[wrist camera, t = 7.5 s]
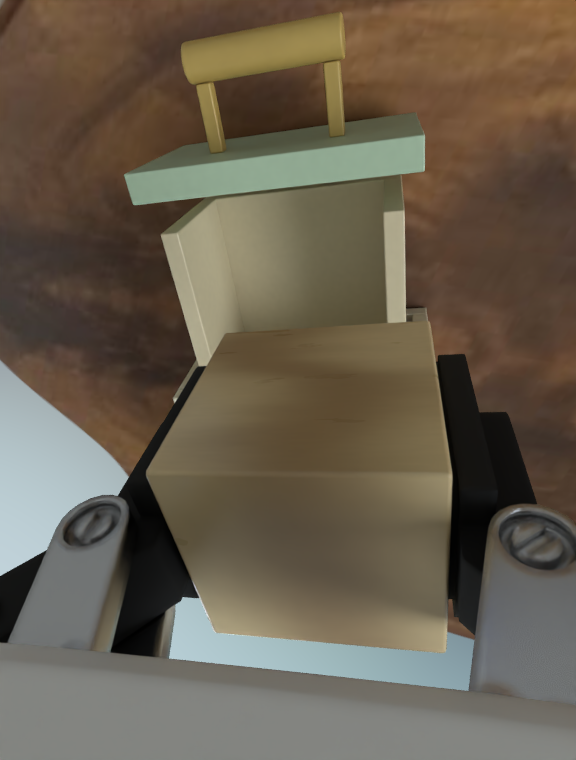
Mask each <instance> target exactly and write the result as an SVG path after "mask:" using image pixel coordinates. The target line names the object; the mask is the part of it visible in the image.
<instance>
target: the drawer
mask: <svg viewBox="0 0 576 760" xmlns="http://www.w3.org/2000/svg"><path fill="white" fill-rule="evenodd" d="M344 58H345V31H344V21H343V15H342V13H341V12H336V13H331V14H326V15H321V16H316V17H310V18H305V19H300V20H295V21H290V22H285V23H280V24H274V25H269V26H264V27H259V28H254V29H249V30H244V31H238V32H233V33H228V34H223V35H218V36H213V37H208V38H202V39H197V40H192V41H187V42H184V43H183V44H182V46H181V59H182V65H183V69H184V72H185V75H186V77H187V79H188V81H189V82H190V83H191V84H193V85H196V84H197V85H196V89H197V94H198V99H199V103H200V108H201V113H202V117H203V122H204V127H205V131H206V136H207V141H208V142H205V143H198V144H191V145H184V146H182V147H180V148H178V149H176V150H173V151H171V152H169V153H167V154H165V155H163V156H161V157H159V158H157V159H155V160H153V161H151V162H149V163H147V164H144V165H142V166H140V167H138V168H136V169H134V170H132V171H130V172H128V173H126V174H124V177H125V180H126V183H127V187H128V190H129V193H130V196H131V199H132V203H133V205H141V204H149V203H158V202H166V201H175V200H184V199H192V198H201V197H206V198H205V199H203V200H202V201H201V202H200V203H198V204H197V205H196V206H195V207H194V208H192V209H191V210H190V211H189V212H187V213H186V214H185V215H184V216H183V217H181V218H180V219H179V220H178V221H177V222H175V223H174V224H173V225H172V226H170V227H169V228H168V229H167V230H166V231H164V232H163V233H162V234H161V238H162V241H163V245H164V248H165V252H166V255H167V259H168V262H169V265H170V269H171V272H172V276H173V279H174V283H175V286H176V290H177V293H178V297H179V300H180V303H181V307H182V310H183V314H184V317H185V321H186V324H187V328H188V331H189V334H190V338H191V341H192V345H193V348H194V352H195V355H196V359H197V362H198V365H199V366H207V364H208V363H209V361H210V359H211V357H212V356H213V354H214V352H215V350H216V349H217V347H218V345H219V343H220V342H221V340H222V338H223V337H224V335H225V334H226V333H235V332H251V331H267V330H283V329H300V328H316V327H332V326H348V325H364V324H380V323H396V322H406V277H405V210H404V199H403V188H402V177H401V175H400V174H408V173H416V172H423V171H424V170H425V135H424V132H423V130H422V127H421V125H420V122H419V120H418V117H417V115H416V113H408V114H401V115H394V116H387V117H380V118H373V119H366V120H359V121H352V122H345V120H344V106H343V92H342V78H341V64H340V60H341V59H344ZM324 62H325V63H324ZM318 63H323V71H324V82H325V94H326V105H327V116H328V125H324V126H317V127H310V128H303V129H296V130H289V131H282V132H275V133H268V134H261V135H254V136H247V137H240V138H233V139H226V140H225V138H224V133H223V128H222V123H221V118H220V113H219V107H218V102H217V97H216V92H215V87H214V83H213V82H214V81H219V80H225V79H231V78H237V77H243V76H248V75H254V74H260V73H266V72H272V71H278V70H283V69H289V68H295V67H301V66H307V65H312V64H318Z"/></svg>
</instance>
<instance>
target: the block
mask: <svg viewBox="0 0 576 760" xmlns="http://www.w3.org/2000/svg"><path fill="white" fill-rule="evenodd" d="M146 477H147V479H148V481H149V483H150V486H151V488H152V490H153V493H154V495H155V497H156V500H157V502H158V504H159V506H160V509H161V511H162V513H163V516H164V518H165V520H166V522H167V525H168V527H169V529H170V532H171V534H172V536H173V538H174V541H175V543H176V545H177V548H178V550H179V552H180V554H181V557H182V559H183V561H184V564H185V566H186V568H187V571H188V573H189V575H190V577H191V580H192V582H193V584H194V587H195V589H196V591H197V593H198V596H199V598H200V600H201V602H202V605H203V607H204V609H205V612H206V614H207V616H208V619H209V621H210V623H211V625H212V628H213V630H214V631H215V632H216V633H223V634H234V635H245V636H256V637H268V638H280V639H290V640H301V641H312V642H323V643H334V644H345V645H357V646H368V647H379V648H390V649H401V650H412V651H424V652H435V653H445V652H446V649H447V622H448V594H449V566H450V538H451V510H452V483H453V474H452V467H451V461H450V454H449V447H448V440H447V434H446V427H445V420H444V413H443V407H442V400H441V393H440V386H439V380H438V373H437V366H436V359H435V353H434V346H433V339H432V332H431V326H430V322H429V321H413V322H396V323H380V324H364V325H348V326H332V327H316V328H300V329H283V330H267V331H251V332H235V333H226V334H225V335H224V337H223V338H222V340H221V342H220V343H219V345H218V347H217V349H216V350H215V352H214V354H213V356H212V357H211V359H210V361H209V363H208V364H207V366H206V368H205V370H204V371H203V373H202V375H201V376H200V378H199V380H198V382H197V383H196V385H195V387H194V389H193V390H192V392H191V394H190V396H189V397H188V399H187V401H186V403H185V404H184V406H183V408H182V409H181V411H180V413H179V415H178V416H177V418H176V420H175V422H174V423H173V425H172V427H171V429H170V430H169V432H168V434H167V436H166V437H165V439H164V441H163V442H162V444H161V446H160V448H159V449H158V451H157V453H156V455H155V456H154V458H153V460H152V462H151V463H150V465H149V467H148V469H147V470H146Z"/></svg>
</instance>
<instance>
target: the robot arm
mask: <svg viewBox="0 0 576 760" xmlns="http://www.w3.org/2000/svg"><path fill="white" fill-rule="evenodd" d="M436 366H437V373H438V380H439V386H440V393H441V400H442V407H443V413H444V420H445V427H446V434H447V440H448V447H449V454H450V461H451V467H452V474H453V483H452V510H451V538H450V566H449V594H448V599H452V601H453V610H454V617H459V622H461V623H462V624H463V625H464V626H465V627H466V628H467V629H468V630H470V631H471V632H472V633H473V634H474V635H475V641H474V650H473V658H472V667H471V675H470V684H469V691H462V690H454V689H444V688H436V687H426V686H418V685H409V684H399V683H391V682H390V683H389V682H381V681H372V680H363V679H354V678H345V677H336V676H326V675H318V674H309V673H300V672H290V671H281V670H272V669H262V668H252V667H243V666H233V665H224V664H215V663H205V662H195V661H186V660H177V659H169V654H170V647H171V640H172V632H173V625H174V618H175V604H177V603H178V602H180V601H181V599H182V597H190V598H199V596H198V593H197V591H196V589H195V587H194V584H193V582H192V580H191V577H190V575H189V573H188V571H187V568H186V566H185V564H184V561H183V559H182V557H181V554H180V552H179V550H178V548H177V545H176V543H175V541H174V538H173V536H172V534H171V532H170V529H169V527H168V525H167V522H166V520H165V518H164V516H163V513H162V511H161V509H160V506H159V504H158V502H157V500H156V497H155V495H154V493H153V490H152V488H151V486H150V483H149V481H148V479H147V477H146V470H147V469H148V467H149V465H150V463H151V462H152V460H153V458H154V456H155V455H156V453H157V451H158V449H159V448H160V446H161V444H162V442H163V441H164V439H165V437H166V436H167V434H168V432H169V430H170V429H171V427H172V425H173V423H174V422H175V420H176V418H177V416H178V415H179V413H180V411H181V409H182V408H183V406H184V404H185V403H186V401H187V399H188V397H189V396H190V394H191V392H192V390H193V389H194V387H195V385H196V383H197V382H198V380H199V378H200V376H201V375H202V373H203V371H204V370H205V368H206V366H198V367H197V368H196V369H195V371H194V372H193V374H192V375H191V377H190V379H189V380H188V382H187V384H186V385H185V387H184V389H183V390H182V392H181V394H180V395H179V397H178V399H177V400H176V402H175V404H174V405H173V407H172V409H171V410H170V412H169V414H168V415H167V417H166V418H165V420H164V422H163V423H162V424H161V425H160V427H159V429H158V430H157V432H156V434H155V435H154V437H153V439H152V440H151V442H150V444H149V445H148V447H147V449H146V450H145V452H144V453H143V455H142V457H141V458H140V460H139V462H138V463H137V465H136V467H135V468H134V470H133V472H132V473H131V475H130V477H129V478H128V480H127V482H126V483H125V485H124V486H123V488H122V490H121V491H120V493H119V495H118V496H114V495H101V496H98V497H94V498H90V499H88V500H87V501H84V502H83V503H80V504H79V505H77V506H76V507H75V508H73V509H72V510H70V511H69V512H68V513H67V514H66V515H65V516H64V517H63V519H62V520H61V522H60V523H59V525H58V526H57V528H56V530H55V533H54V535H53V537H52V540H51V542H50V545H49V547H48V549H47V550H46V551H44V552H43V553H41V554H39V555H37V556H35V557H34V558H32V559H30V560H28V561H27V562H25V563H23V564H21V565H19V566H17V567H16V568H14V569H12V570H10V571H9V572H7V573H5V574H3V575H2V576H0V760H576V523H575V522H574V521H572V520H571V519H570V518H569V517H568V516H566V515H564V514H562V513H560V512H558V511H556V510H554V509H552V508H548V507H545V506H541V505H537V502H536V499H535V496H534V493H533V490H532V486H531V483H530V480H529V477H528V474H527V471H526V468H525V465H524V462H523V459H522V455H521V452H520V449H519V446H518V443H517V440H516V437H515V434H514V431H513V428H512V424H511V421H510V418H509V416H508V414H507V413H506V412H484V413H479V410H478V406H477V402H476V398H475V394H474V389H473V385H472V381H471V377H470V373H469V369H468V365H467V361H466V357H465V354H455V355H438V362H436Z"/></svg>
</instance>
